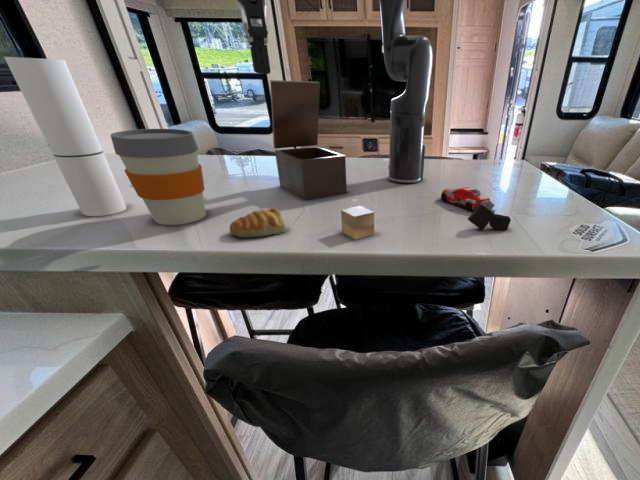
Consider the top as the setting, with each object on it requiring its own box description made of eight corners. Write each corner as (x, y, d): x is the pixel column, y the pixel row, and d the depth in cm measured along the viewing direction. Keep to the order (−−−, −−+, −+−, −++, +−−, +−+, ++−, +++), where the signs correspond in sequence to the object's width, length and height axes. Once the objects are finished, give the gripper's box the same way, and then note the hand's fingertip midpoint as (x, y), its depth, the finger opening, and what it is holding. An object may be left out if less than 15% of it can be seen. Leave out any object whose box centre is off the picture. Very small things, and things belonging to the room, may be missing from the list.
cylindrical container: (122, 202, 72) (61, 59, 58) (130, 211, 68) (67, 60, 54) (79, 208, 68) (3, 56, 54) (85, 218, 64) (4, 56, 50)
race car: (436, 199, 84) (437, 183, 82) (450, 196, 87) (452, 180, 85) (476, 214, 75) (480, 196, 73) (491, 210, 78) (495, 193, 76)
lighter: (493, 237, 71) (511, 217, 69) (497, 241, 69) (515, 221, 67) (466, 217, 68) (483, 196, 66) (469, 221, 66) (487, 199, 64)
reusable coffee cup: (149, 209, 69) (118, 128, 61) (216, 204, 74) (196, 128, 65) (137, 232, 60) (98, 140, 51) (215, 224, 64) (191, 138, 56)
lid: (319, 82, 78) (309, 75, 80) (271, 81, 71) (261, 73, 74) (317, 145, 88) (307, 136, 90) (275, 148, 81) (265, 139, 84)
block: (360, 227, 66) (360, 205, 64) (374, 234, 64) (374, 212, 61) (342, 232, 64) (340, 209, 61) (355, 240, 61) (354, 216, 59)
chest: (347, 192, 85) (345, 155, 80) (305, 200, 78) (300, 160, 74) (319, 180, 93) (316, 146, 88) (280, 186, 87) (274, 150, 82)
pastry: (237, 243, 58) (232, 222, 55) (226, 231, 62) (220, 211, 60) (289, 232, 63) (286, 212, 61) (275, 221, 67) (272, 202, 65)
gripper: (272, -77, 43) (290, 75, 52) (265, -48, 54) (281, 73, 63) (206, -90, 40) (237, 73, 49) (214, -57, 51) (238, 71, 60)
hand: (262, 73), depth 56 cm, fingers open, 8 cm apart
